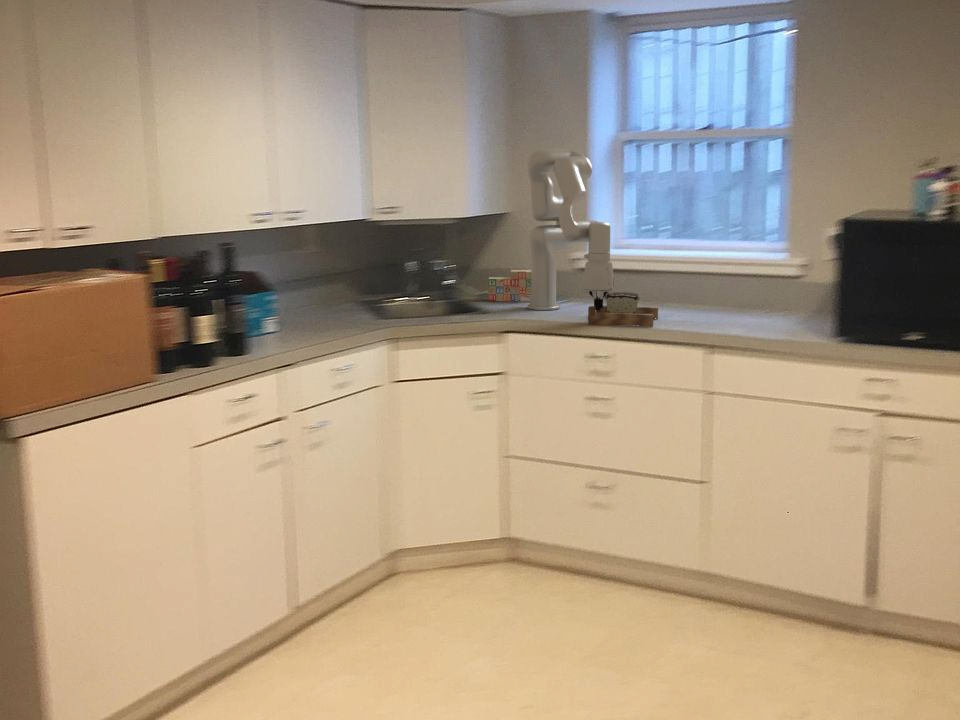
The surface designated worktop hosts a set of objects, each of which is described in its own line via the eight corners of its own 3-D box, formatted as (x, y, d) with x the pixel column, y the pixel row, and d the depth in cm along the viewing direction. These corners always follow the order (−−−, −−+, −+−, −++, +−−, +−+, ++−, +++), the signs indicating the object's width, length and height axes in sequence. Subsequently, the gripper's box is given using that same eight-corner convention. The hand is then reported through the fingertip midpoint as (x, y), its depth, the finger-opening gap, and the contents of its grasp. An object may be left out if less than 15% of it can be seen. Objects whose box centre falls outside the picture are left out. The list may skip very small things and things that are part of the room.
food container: (641, 320, 351) (642, 292, 349) (638, 323, 345) (639, 294, 343) (607, 319, 355) (608, 291, 353) (603, 321, 349) (604, 293, 347)
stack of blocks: (488, 301, 403) (487, 271, 401) (488, 299, 410) (488, 269, 407) (541, 301, 402) (541, 271, 400) (541, 299, 408) (541, 269, 406)
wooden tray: (588, 324, 344) (588, 307, 342) (597, 316, 363) (597, 299, 362) (652, 326, 338) (652, 309, 337) (658, 318, 357) (658, 301, 356)
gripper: (576, 258, 347) (575, 310, 350) (619, 259, 343) (618, 312, 346) (579, 256, 354) (579, 307, 357) (622, 257, 350) (621, 309, 353)
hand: (598, 309), depth 352 cm, fingers closed
